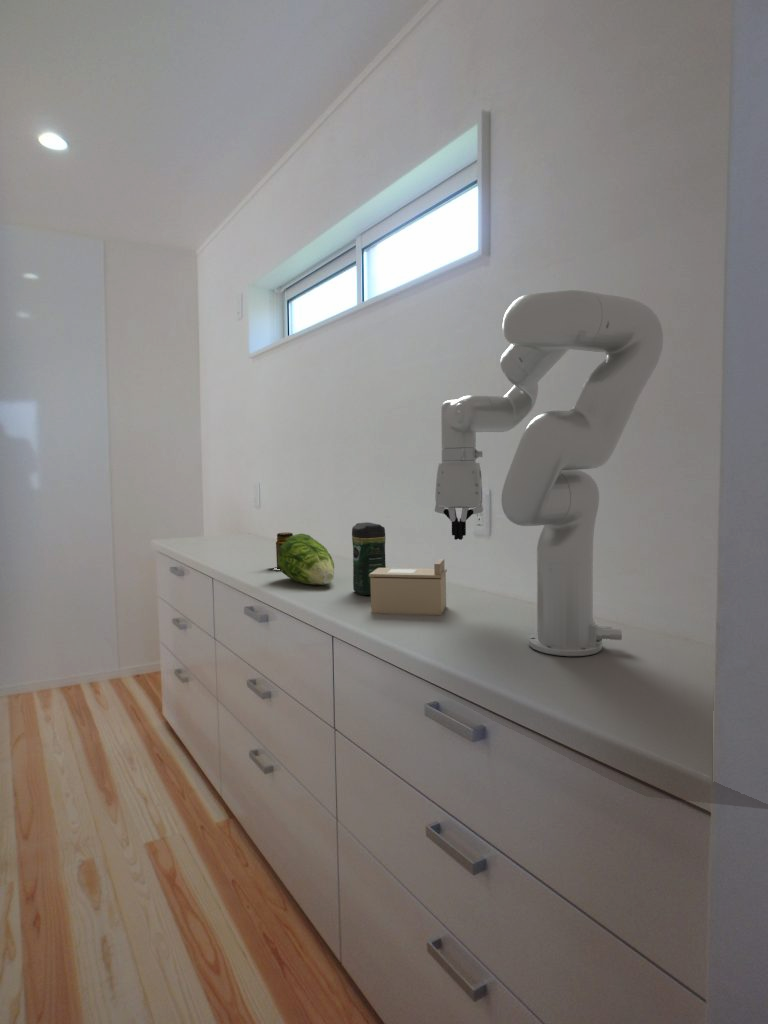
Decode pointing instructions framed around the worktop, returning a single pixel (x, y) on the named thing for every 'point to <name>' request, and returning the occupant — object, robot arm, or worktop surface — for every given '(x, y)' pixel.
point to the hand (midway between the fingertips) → (458, 538)
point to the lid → (412, 571)
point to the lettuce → (306, 560)
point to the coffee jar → (367, 554)
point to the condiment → (280, 544)
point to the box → (408, 595)
